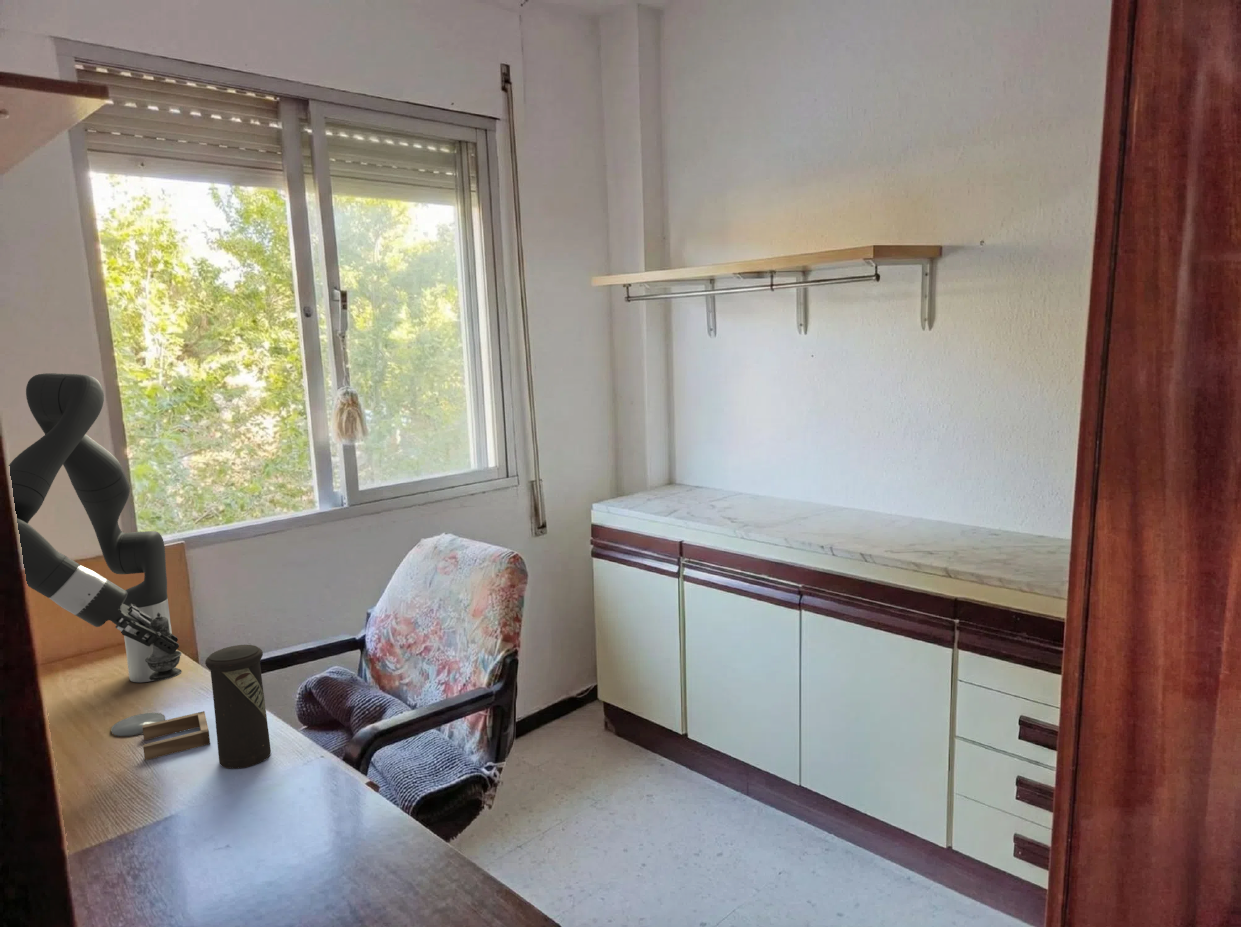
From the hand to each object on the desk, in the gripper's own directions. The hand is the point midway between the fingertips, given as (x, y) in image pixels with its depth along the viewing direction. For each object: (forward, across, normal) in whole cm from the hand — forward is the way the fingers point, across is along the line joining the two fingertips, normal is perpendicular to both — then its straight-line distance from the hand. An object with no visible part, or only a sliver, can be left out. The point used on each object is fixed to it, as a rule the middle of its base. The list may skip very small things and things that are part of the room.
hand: (174, 646), depth 148 cm
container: (+18, -17, +6) cm, 26 cm away
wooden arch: (+11, -2, +13) cm, 18 cm away
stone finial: (+2, 0, +5) cm, 6 cm away
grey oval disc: (+7, +10, +18) cm, 22 cm away
